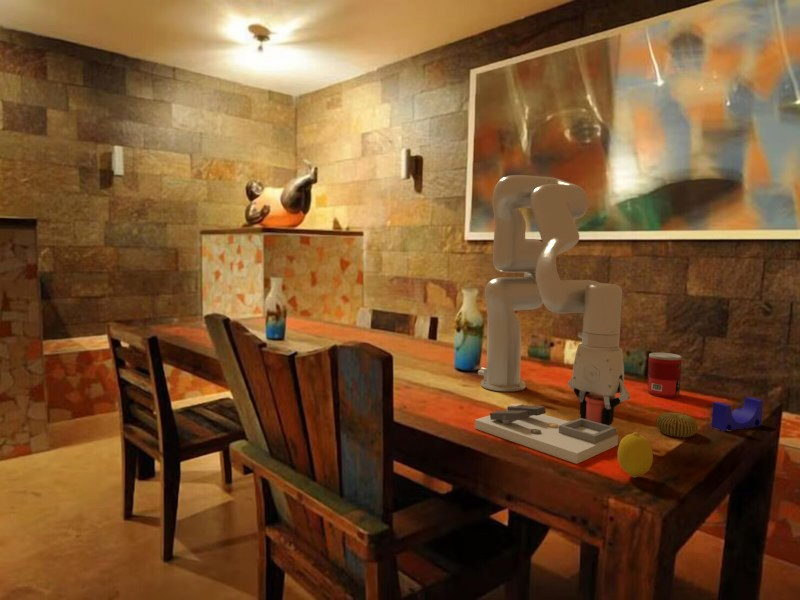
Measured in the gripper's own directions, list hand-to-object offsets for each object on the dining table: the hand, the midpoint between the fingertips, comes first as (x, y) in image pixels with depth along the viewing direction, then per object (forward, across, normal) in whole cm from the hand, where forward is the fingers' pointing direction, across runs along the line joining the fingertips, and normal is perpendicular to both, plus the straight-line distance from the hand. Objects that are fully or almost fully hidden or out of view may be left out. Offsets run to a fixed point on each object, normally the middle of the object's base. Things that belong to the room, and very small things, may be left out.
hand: (595, 421), depth 115 cm
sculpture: (+2, +13, +11) cm, 17 cm away
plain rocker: (-1, -10, -17) cm, 20 cm away
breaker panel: (+2, -4, -13) cm, 14 cm away
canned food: (+2, -3, +41) cm, 41 cm away
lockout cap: (+1, 0, 0) cm, 1 cm away
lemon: (+1, +18, -18) cm, 25 cm away
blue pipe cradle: (+2, +18, +26) cm, 32 cm away
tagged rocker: (-1, -10, -11) cm, 15 cm away
